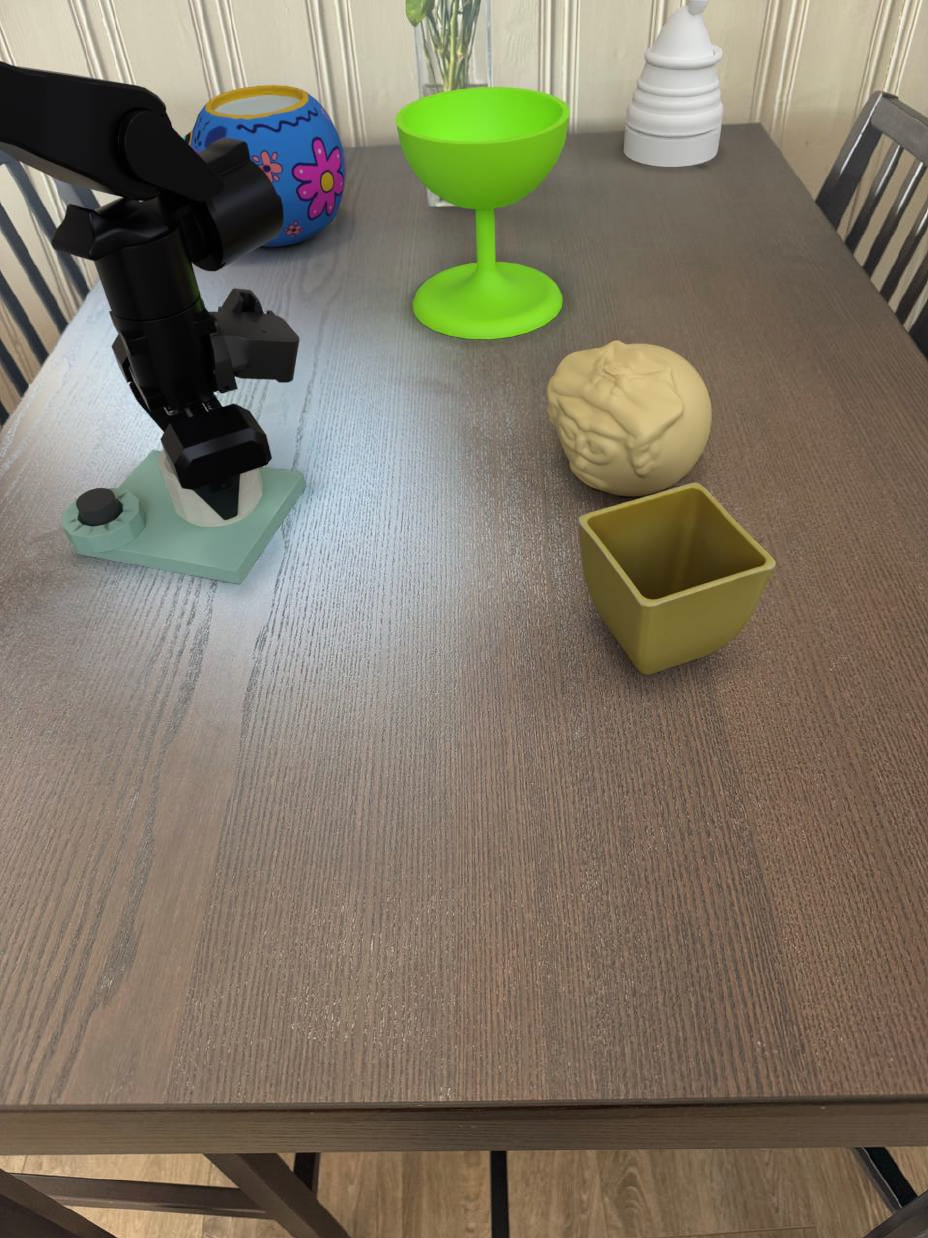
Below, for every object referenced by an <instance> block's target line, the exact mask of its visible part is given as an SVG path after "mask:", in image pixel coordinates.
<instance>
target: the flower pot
mask: <svg viewBox="0 0 928 1238" xmlns="http://www.w3.org/2000/svg"><path fill="white" fill-rule="evenodd" d="M577 521H578V522H577V523H578V531H579V533H578V534H579V542H580V552H581V553H580V554H581V563H582V571H583V577H584V582H585V585H586V587H587V591H588V594H589V596H590V598H591V601H592V603H593V605H594V607H595V609H596V611H597V612H598V614H599V616H600V617H601V619H602V620H603V622H604V624H605V626H606V627H607V628H608V630H609V631H610V632H611V634H612V635H613V636H614V638H615V640H616V641H617V643H618V644H619V645H620V647H622V649H623V651H624V652H625V654H626V655H627V657H628V658H629V659H630V661H631V662H632V664H633V665H634V667H635V669H636V670H637V671H638V673H641V674H642V675H644V676H650V675H654V674H656V673H659V672H662V671H665V670H668V669H671V668H673V667H676V666H679V665H683V664H685V663H688V662H692V661H694V660H697V659H701V658H704V657H707V656H709V655H710V654H712V653H714V652H716V651H717V650H719V649H721V648H722V647H724V646H725V645H727V644H728V643H729V642H731V641H732V640H733V639H734V638H735V637H737V636H738V635H739V634H740V633H741V631H743V629H744V628H745V627H746V625H747V624H748V623H749V621H750V620H751V619H752V616H753V614H754V612H755V610H756V608H757V606H758V604H759V602H760V599H761V598H762V595H763V593H764V591H765V590H766V587H767V585H768V583H769V581H770V578H771V576H772V574H773V572H774V570H775V568H776V565H777V562H776V560H775V559H774V558H773V557H772V556H771V555H770V553H769V552H768V551H767V550H765V549H764V548H763V546H761V544H760V543H759V542H758V541H756V540H755V538H753V537H752V536H751V535H750V533H748V531H746V530H745V529H744V528H743V526H741V525H740V524H739V523H738V522H737V521H736V520H735V519H734V518H733V517H732V515H730V513H729V512H728V511H727V510H726V509H725V507H723V506H722V504H721V503H720V502H719V501H718V500H717V499H716V498H715V496H713V495H712V493H711V492H710V491H709V490H708V489H706V487H704V486H703V485H701V484H700V483H699V482H690V483H687V484H683V485H679V486H676V487H674V488H669V489H665V490H662V491H659V492H656V493H653V494H649V495H645V496H642V497H639V498H636V499H633V500H629V501H625V502H622V503H619V504H615V505H612V506H608V507H604V508H601V509H597V510H593V511H591V512H587V513H585V514H582V515H580V516H578V518H577Z"/></svg>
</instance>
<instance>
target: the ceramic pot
mask: <svg viewBox="0 0 928 1238" xmlns="http://www.w3.org/2000/svg"><path fill="white" fill-rule="evenodd" d="M223 137H226V138H231V139H236V140H241V141H245V142H246V143H247V144H248V149H249V154H250V158H251V160H252V161H253V162H255V163H256V164H257V165H258V166H259V167H260V168H261V169H262V170H263V171H264V172H265V174H266V175H267V176H268V178H269V179H270V181H271V183H272V184H273V186H274V188H275V190H276V193H277V194H278V195H279V196H280V197H281V200H282V205H283V212H284V220H283V226H282V229H281V231H280V233H279V234H278V235H277V236H276V238H274V239H272V240H270V241H269V242H267V243H265V244H263V245H262V247H284V246H291V245H295V244H299V243H301V242H304V241H307V240H309V239H310V238H312V237H314V236H315V235H317V234H319V233H320V232H322V231H323V230H324V229H326V228H327V227H328V226H329V224H331V223H332V221H333V220H334V219H335V218H336V216H337V213H338V210H339V208H340V205H341V201H342V198H343V194H344V190H345V186H346V179H347V159H346V154H345V149H344V147H343V143H342V140H341V138H340V136H339V133H338V131H337V129H336V126H335V124H334V123H333V121H332V119H331V117H330V115H329V114H328V112H327V111H326V109H325V108H324V106H323V105H322V104H321V102H319V100H317V99H316V98H315V97H314V96H312V95H311V94H310V93H309V92H307V91H306V90H304V89H301V88H298V87H295V86H289V85H280V84H267V85H254V86H253V85H252V86H245V87H241V88H237V89H231V90H229V91H226V92H223V93H220V94H218V95H216V96H214V97H212V98H210V99H209V100H208V101H207V102H206V103H205V104H204V105H203V107H202V108H201V110H200V111H199V112H198V114H197V117H196V120H195V122H194V125H193V126H192V129H191V130H190V131H189V132H188V133H187V134H185V135H184V136H183V137H182V138H183V139H184V140H185V141H186V142H187V143H188V144H189V145H190V146H191V147H192V148H193V149H194V150H195V152H196V153H198V152H201V151H203V150H204V149H206V148H207V147H208V146H209V145H210V144H211V143H213V142H215V141H217V140H219V139H221V138H223Z"/></svg>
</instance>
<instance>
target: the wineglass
mask: <svg viewBox="0 0 928 1238" xmlns="http://www.w3.org/2000/svg"><path fill="white" fill-rule="evenodd" d="M570 114H571V108H570V107H569V105H568V103H567V102H566V101H564V100H563V99H561V98H559V97H558V96H556V95H554V94H553V95H552V94H550V93H546V92H543V91H540V90H535V89H534V90H533V89H529V88H523V87H510V86H479V87H466V88H458V89H452V90H447V91H442V92H437V93H433V94H429V95H426V96H423V97H420V98H418V99H416V100H414V101H411V102H409V103H407V104H405V106H403V107H402V108H401V109H399V110H398V112H397V113H396V114H395V117H394V121H395V125H396V130H397V134H398V138H399V143H400V147H401V152H402V153H403V155H404V157H405V159H406V161H407V163H408V165H409V167H410V169H411V171H412V172H413V173H414V175H415V176H416V178H418V179H419V180H420V182H421V183H422V184H423V185H424V186H425V187H426V189H427V190H429V191H430V193H432V194H433V195H435V196H437V197H439V198H440V199H442V201H443V200H444V201H445V202H447V203H448V204H451V205H453V206H455V207H459V208H462V209H468V210H469V209H470V210H474V213H475V214H474V215H475V240H476V241H475V242H476V245H475V246H476V262H470V263H465V264H461V265H457V266H453V267H450V268H447V269H445V270H441V271H439V272H438V273H436V274H434V275H432V276H431V277H430V278H428V279H426V280H425V281H424V282H423V283H422V284H421V285H420V287H419V288H418V289H417V290H416V292H415V295H414V298H413V300H412V304H411V305H412V306H411V307H412V311H413V315H414V316H415V317H416V319H417V320H418V321H419V322H420V323H421V324H422V325H424V326H426V327H427V328H429V329H430V330H432V331H435V332H437V333H440V334H443V335H445V336H449V337H454V338H460V339H466V340H495V339H504V338H506V339H507V338H512V337H516V336H519V335H523V334H527V333H530V332H533V331H535V330H537V329H539V328H541V327H544V326H545V325H547V324H549V323H550V322H551V321H552V320H553V319H555V318H556V317H557V316H558V315H559V313H560V311H561V310H562V308H563V299H564V297H563V294H562V292H561V290H560V287H559V286H558V284H557V283H556V282H555V281H554V280H553V279H552V278H551V277H550V276H548V275H547V273H544V272H542V271H540V270H538V269H536V268H533V267H530V266H527V265H524V264H521V263H520V264H519V263H515V262H506V261H496V220H495V219H496V217H495V215H496V213H495V209H500V208H503V207H507V206H510V205H513V204H515V203H517V202H520V201H521V200H522V199H524V198H525V197H527V196H528V195H529V194H530V193H532V192H533V191H534V190H536V189H537V188H538V187H540V186H541V184H542V183H543V182H544V181H545V179H546V178H547V176H548V175H549V174H550V172H551V171H552V170H553V168H555V166H556V165H557V162H558V160H559V158H560V155H561V153H562V150H563V148H564V146H565V143H566V139H567V134H568V127H569V122H570V116H571V115H570Z"/></svg>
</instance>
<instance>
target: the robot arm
mask: <svg viewBox="0 0 928 1238" xmlns="http://www.w3.org/2000/svg"><path fill="white" fill-rule="evenodd" d="M183 138H184V137H182V136H181V134H179V132H177V130H176V129H175V128H174V127H173V123H172V121H171V119H170V117H169V114H168V112H167V105H166V104H165V102H164V101H163V100H162V99H161V97H159V95H158V94H156V93H154V92H153V91H151V90H150V89H148V88H147V87H145V86H140V85H137V84H132V83H125V82H119V81H113V80H108V79H103V78H97V77H90V76H86V75H85V76H84V75H79V74H72V73H67V72H59V71H55V70H46V69H40V68H34V67H26V66H19V65H14V64H11V63H7V62H5V61H2V60H0V151H1V152H3V153H5V154H6V155H8V156H9V157H11V158H13V160H16V161H18V162H20V163H22V164H24V165H26V166H28V167H29V168H32V169H34V170H36V171H38V172H40V173H43V174H45V175H47V176H49V177H51V178H53V179H55V180H57V181H59V182H62V183H65V184H68V185H71V186H75V187H79V188H83V189H88V190H91V191H95V192H100V193H103V194H106V195H107V194H108V195H112V196H116V197H119V198H117V199H115V200H113V201H111V202H108V203H106V204H104V205H102V206H99V207H98V208H97V207H96V208H95V209H92V208H89V207H85V206H81V205H77V204H73V203H69V204H67V206H66V208H65V214H64V218H63V219H62V221H61V223H60V224H59V225H58V226H57V228H56V229H55V232H54V234H53V236H52V239H51V242H50V244H51V246H52V249H54V250H55V251H57V252H61V253H64V254H67V255H71V256H75V257H78V258H80V259H83V260H88V261H90V262H93V264H94V266H95V269H96V271H97V275H98V277H99V280H100V283H101V285H102V289H103V291H104V294H105V297H106V300H107V303H108V305H109V308H110V310H109V311H108V313H109V317H110V319H111V322H112V324H113V327H114V329H115V331H116V332H117V335H116V337H115V338H114V341H113V342H112V345H111V348H112V352H113V354H114V358H115V360H116V363H117V365H118V369H119V370H120V372H121V374H122V376H123V378H124V380H125V381H126V383H127V384H128V387H129V389H130V390H131V392H132V393H131V394H132V395H133V396H134V399H135V400H136V402H137V404H139V406H141V408H142V409H143V410H144V411H145V413H146V414H147V415H148V416H149V417H150V418H151V420H152V421H153V422H154V423H155V424H156V425H157V426H158V427H159V429H160V430H161V431H162V432H163V433H162V435H161V437H160V439H159V440H160V443H161V445H162V450H163V449H164V452H165V454H166V456H167V460H168V462H169V464H170V466H171V468H172V470H173V472H174V474H175V476H176V478H177V480H178V482H179V484H180V486H181V488H182V489H189V490H193V491H194V492H195V493H196V494H197V495H198V496H199V497H200V498H202V499H203V500H204V501H205V502H206V503H207V504H208V505H209V506H210V507H211V508H212V509H213V510H214V511H215V512H216V513H217V514H218V515H219V516H220V517H221V518H222V519H223V520H229V519H231V518H234V517H236V516H237V515H238V504H239V485H240V475H241V474H242V473H245V472H248V471H251V470H254V469H257V468H260V467H267V466H268V465H269V463H270V462H271V461H272V459H273V455H272V452H271V447H270V443H269V440H268V435H267V434H266V432H265V431H264V429H263V428H262V426H261V425H260V423H259V422H258V421H257V419H256V417H255V416H254V415H253V412H252V411H251V410H250V409H247V408H245V407H242V406H241V405H238V404H236V403H230V404H227V405H222V403H221V401H220V400H219V399H218V397H217V396H216V394H215V393H217V392H218V393H219V394H220V395H221V394H225V393H229V392H233V391H235V390H236V391H237V390H238V384H237V381H236V378H239V379H242V380H268V381H269V380H271V381H273V380H274V381H276V382H278V383H281V384H286V383H287V384H289V383H291V382H292V381H294V377H295V371H296V366H297V365H296V364H297V358H298V353H299V346H300V340H301V338H300V336H299V335H298V334H297V332H295V330H294V329H293V328H292V327H291V326H290V324H289V323H288V322H287V321H286V320H285V319H284V318H283V317H281V316H279V315H276V313H274V311H273V310H270V309H268V310H266V313H265V311H264V309H263V307H262V304H261V300H260V299H259V298H258V297H257V295H256V294H255V293H254V291H253V290H251V289H246V288H232V289H231V291H230V293H228V295H227V297H226V299H225V300H224V302H223V303H222V305H221V306H218V307H217V311H212V310H211V311H209V310H208V309H207V308H206V304H205V302H204V299H203V298H202V294H201V292H200V287H199V284H198V281H197V277H196V274H195V269H194V267H193V265H194V266H195V267H196V268H197V267H198V268H199V269H201V270H203V271H205V272H217V271H219V270H222V269H223V268H225V267H227V266H229V265H231V264H232V263H234V262H235V261H237V260H239V259H241V258H242V257H245V256H246V255H248V254H250V253H251V252H253V251H254V250H257V249H259V248H260V247H261V246H262V245H263V244H265V243H267V242H269V241H270V240H272V239H274V238H276V236H277V235H278V234H279V233H280V231H281V229H282V226H283V220H284V212H283V205H282V200H281V197H280V196H279V195H278V194H277V193H276V190H275V188H274V186H273V184H272V183H271V181H270V179H269V178H268V176H267V175H266V174H265V172H264V171H263V170H262V169H261V168H260V167H259V166H258V165H257V164H256V163H255V162H253V161H252V160H251V158H250V154H249V149H248V144H247V143H246V142H245V141H241V140H236V139H231V138H226V137H223V138H221V139H219V140H217V141H215V142H213V143H211V144H210V145H209V146H208V147H207V148H206V149H204V150H203V151H201V152H198V153H196V152H195V150H194V149H193V148H192V147H191V146H190V145H189V144H188V143H187V142H186V141H185V140H184V139H183ZM262 247H263V246H262Z"/></svg>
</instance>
